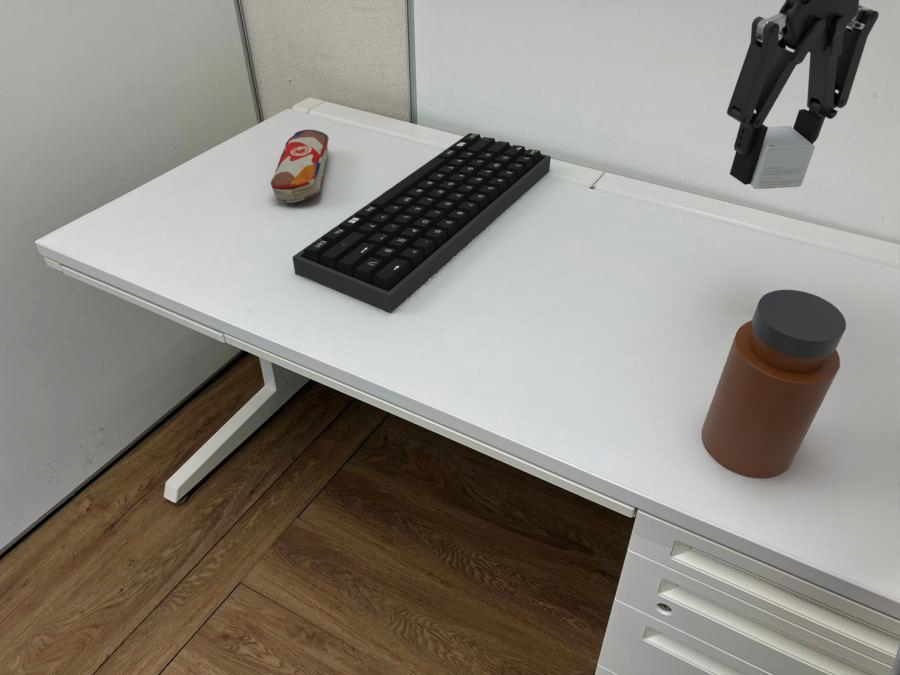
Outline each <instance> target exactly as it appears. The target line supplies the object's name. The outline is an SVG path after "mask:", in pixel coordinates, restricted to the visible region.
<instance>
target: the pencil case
mask: <svg viewBox="0 0 900 675" xmlns="http://www.w3.org/2000/svg"><path fill="white" fill-rule="evenodd" d="M329 140H330V139H329V136H328V134H327V133H325V132H324V131H320V130H317V129H309V128H308V129H307V128H306V129H302V130H298V131H296V132H295V133H294V134H293V135H292V136H290V138H288V139H287V141H286V142H285V145H284V147H283V150H282V153H281V155H280V157H279V161H278V162H277V166H276V169H275V171H274V174H273V177H272V178H271V180H270V186H271V189H272V191H273V194H274V196H275V198H276V199H277V200H278V201H281V202H283V203H287V204H295V203H298V202H301V201H304V200H307V199H310V198H312V197H314V196H316V195H317V194H318V193H320V192H321V189H322V187H323V178H324V171H325V166H326V162H327V160H328V157H329V147H328V145H329Z"/></svg>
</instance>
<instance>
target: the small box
mask: <svg viewBox="0 0 900 675" xmlns="http://www.w3.org/2000/svg"><path fill="white" fill-rule="evenodd" d="M767 127H768V130H767V133H766V136H765V139H764V143H763V146H762V149H761V152H760V155H759V158H758V162H757V165H756V168H755V171H754V174H753V178H752V181H751V184H750V186H751V187H752V188H753V189H754V190H762V189H763V190H764V189H765V190H766V189H781V188H782V189H783V188H798V187H799V188H800V187H801V186H802V185H803V182H804V179H805V177H806V173H807V171H808V168H809V166H810V163H811V160H812V157H813V154H814V151H815V149H816V146H815V145H814V144H813V145H812V144H811V143H810V142H809V141H808V140H806V139H805V138H804V137H803V136H802V135H800V134H799V133H798V132H797V131H796V130H794V129H793V126H791V125H778V126H777V125H775V126H767Z"/></svg>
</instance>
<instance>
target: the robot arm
mask: <svg viewBox="0 0 900 675" xmlns="http://www.w3.org/2000/svg"><path fill="white" fill-rule="evenodd" d="M878 19H879V11H878V10H874V9H872V8H868V7H866V6H863V5H860V0H785V2H784V3H783V4H782V6H781V8H780V9H779V11H778V13H777V14H775V15H772V16H771V17H768V18H765V17H762V16H757V17H755V18H754V19H753V20H752V23H751V30H750V42H749V45H748V49H747V51H746V55H745V57H744V60H743V63H742V66H741V69H740V72H739V75H738V78H737V81H736V83H735V86H734V89H733V92H732V95H731V98H730V101H729V104H728V106H727V110H726V114H727V116H729V117H730V118H732V119H734V120H735V121H737V122H739V126H738V131H737V134H736V138H735V141H734V144H733V148H734V149H733V150H734V151H735V154H734V157H733V161H732V164H731V167H730V170H729V175H730V176H731V177H732V178H734V179H736V180H737V181H739V182H740V183H741V184H743V185H751V181H752V178H753V174H754V171H755V168H756V165H757V162H758V158H759V155H760V152H761V149H762V146H763V143H764V139H765V136H766V133H767V130H768V127H769V126H767V125H764V122H765V121H766V119H767V118H768V116H769V114H770V112H771V110H772V109H773V107H774V105H775V103H776V102H777V100H778V98H779V96H780V94H781V92H782V91H783V89H784V88H785V86H786V84H787V82H788V80H789V78H790V77H791V75H792V74H793V72H794V70H795V68H796V67H797V66H798V65H800V64H802V63H803V62H804V60H805V59H806V58H807V55H808V53H809V66H808V68H809V69H808V81H807V82H808V84H807V96H806V97H807V98H806V107H807V108H808V109H805V108H801V109H798V112H797V115H796V117H795V121H794V124H793V126H792V128H793V129H794V130H796V131H797V132H798V133H799V134H800V135H802V136H803V137H804V138H805V139H806V140H808V141H809V142H810V143H811V144H812V145H814V143H815V142H817V140H818V138H819V136H820V133H821V130H822V128H823V125H824V122H825V119H826V118H827V119H829V120H833V119H834V118H835V117H836V116H837V114H838V109H837V108H839V109H843V108H844V107H846V105H847V104H848V101H849V98H850V95H851V92H852V88H853V85H854V82H855V78H856V76H857V73H858V69H859V66H860V63H861V60H862V56H863V52H864V50H865V46H866V44H867V40H868V37H869V35H870V33H871V32H872V29H873V27H874V26H875V24H876V22H877V20H878ZM787 48H789V49H790V50H788V49H787ZM791 50H793V51H791ZM836 91H838V92H836ZM836 109H837V110H836ZM889 675H900V644H899V645H898V649H897V650H896V654H895V658H894V660H893V664H892V667H891V670H890V674H889Z"/></svg>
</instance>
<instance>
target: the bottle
mask: <svg viewBox="0 0 900 675" xmlns="http://www.w3.org/2000/svg"><path fill="white" fill-rule="evenodd" d="M846 321H847V320H846V318H845V317H844V315H843V313H842V312H841V311H840V310H839V309H838V308H837V307H836V306H835V305H834V304H833V303H831V302H830V301H828V300H826V299H825V298H822V297H820V296H818V295H816V294H813V293H810V292H806V291H802V290H796V289H777V290H772V291H769V292H767V293H766V294H764V295H762V296H761V297H760V298H759V300H758V303H757V306H756V308H755V311H754V312H753V315H752V319H751V320H749V321H747V322H745V323H743V324H742V325H741V326H740V327H739V328H737V331H736V332H735V335H734V338H733V340H732V343H731V346H730V349H729V352H728V355H727V357H726V360H725V363H724V366H723V369H722V372H721V375H720V377H719V380H718V382H717V386H716V389H715V390H714V393H713V394H714V395H713V397H712V400H711V402H710V405H709V408H708V412H707V414H706V417H705V419H704V422H703V425H702V428H701V441H702V444H703V446H704V448H705V449H706V451H707V452H708V454H709V455H710V457H712V459H713V460H715V462H717V463H718V464H719V465H721V466H722V467H724V468H726V469H727V470H729V471H732V472H733V473H735V474H739V475H740V476H741V475H742V476H745V477H748V478H755V479H757V478H758V479H766V478H767V479H768V478H773V477H776V476H779V475H782V474H783V473H785V472H786V471H787V470H788V469H789V468H790V466H791V465H792V464H793V461H794V459H795V457H796V455H797V454H798V452H799V449H800V448H801V445H802V443H803V442H804V439H805V438H806V435H807V433H808V431H809V430H810V427H811V426H812V424H813V421H814V420H815V418H816V415H817V413H818V412H819V409H820V407H821V406H822V404H823V402H824V400H825V398H826V396H827V394H828V391H829V390H830V388H831V386H832V384H833V382H834V380H835V378H836V376H837V374H838V373H839V370H840V367H841V358H840V354H839V352H838V350H837V348H838V346H839V344H840V342H841V339H842V338H843V335H844V334H845V331H846V330H847V322H846Z"/></svg>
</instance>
